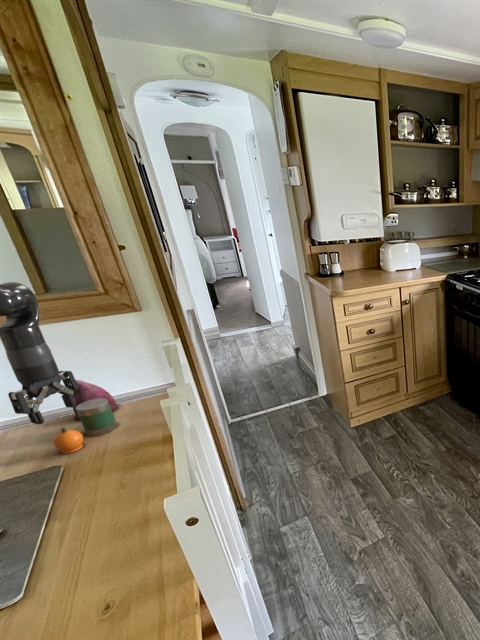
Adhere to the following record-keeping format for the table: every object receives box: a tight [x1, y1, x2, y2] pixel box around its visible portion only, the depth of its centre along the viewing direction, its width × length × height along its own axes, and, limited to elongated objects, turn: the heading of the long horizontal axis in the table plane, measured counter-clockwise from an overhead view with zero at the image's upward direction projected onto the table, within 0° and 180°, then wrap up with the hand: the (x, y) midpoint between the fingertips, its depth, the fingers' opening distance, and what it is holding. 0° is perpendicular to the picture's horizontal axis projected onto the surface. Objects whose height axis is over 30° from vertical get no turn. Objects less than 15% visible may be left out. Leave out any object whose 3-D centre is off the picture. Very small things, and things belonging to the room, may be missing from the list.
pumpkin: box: [52, 427, 84, 454], centre depth 106 cm, size 6×6×7 cm
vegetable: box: [72, 379, 118, 421], centre depth 122 cm, size 10×10×15 cm
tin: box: [76, 398, 118, 437], centre depth 115 cm, size 7×7×9 cm
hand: (55, 414), depth 103 cm, fingers open, 8 cm apart
